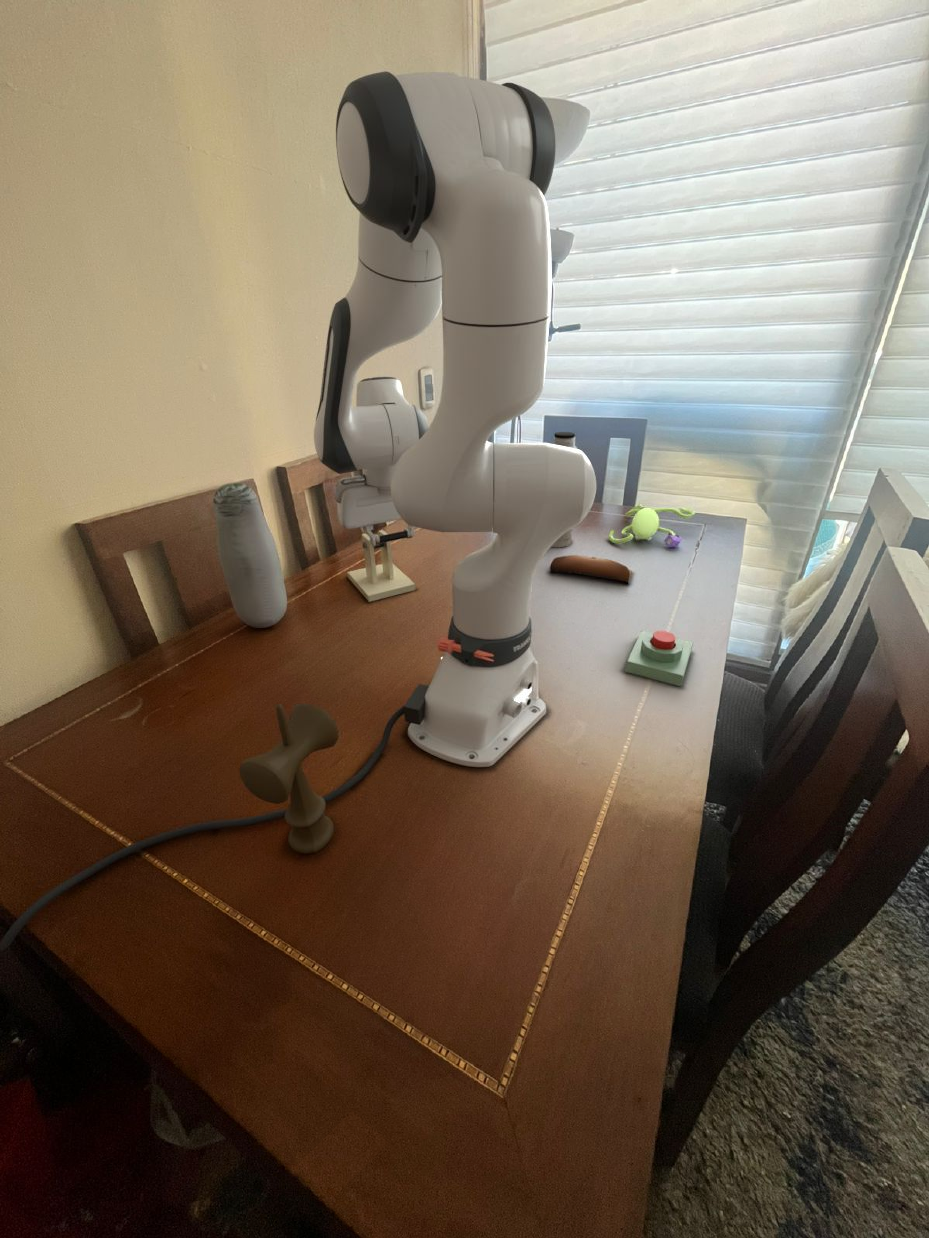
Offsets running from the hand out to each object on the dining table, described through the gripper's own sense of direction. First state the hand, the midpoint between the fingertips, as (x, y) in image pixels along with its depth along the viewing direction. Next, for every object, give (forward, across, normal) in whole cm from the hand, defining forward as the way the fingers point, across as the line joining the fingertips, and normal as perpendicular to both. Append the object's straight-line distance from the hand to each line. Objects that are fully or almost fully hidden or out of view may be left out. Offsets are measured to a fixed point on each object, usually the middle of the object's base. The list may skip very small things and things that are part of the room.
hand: (392, 540), depth 103 cm
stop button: (+10, +30, -44) cm, 55 cm away
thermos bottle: (+14, +50, +9) cm, 53 cm away
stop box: (+14, +30, -44) cm, 55 cm away
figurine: (+14, +76, +1) cm, 78 cm away
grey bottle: (+14, -27, +5) cm, 31 cm away
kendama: (+14, -32, -49) cm, 60 cm away
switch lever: (+3, 0, +5) cm, 5 cm away
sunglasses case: (+14, +45, -10) cm, 48 cm away
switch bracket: (+14, 0, +10) cm, 17 cm away
